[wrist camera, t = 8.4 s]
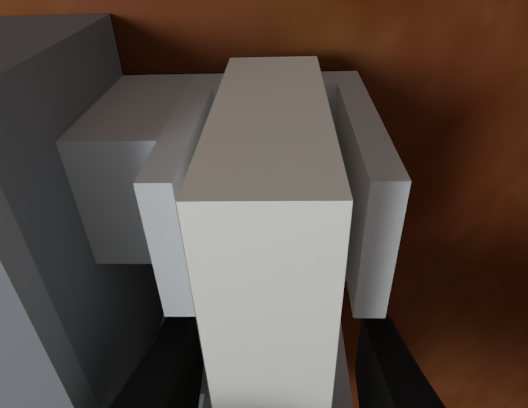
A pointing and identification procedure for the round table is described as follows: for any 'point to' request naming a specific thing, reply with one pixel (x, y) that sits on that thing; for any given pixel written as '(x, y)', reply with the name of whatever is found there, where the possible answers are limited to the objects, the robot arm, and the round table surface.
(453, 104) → the round table surface
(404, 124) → the round table surface
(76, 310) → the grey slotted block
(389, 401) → the robot arm
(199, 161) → the door panel
